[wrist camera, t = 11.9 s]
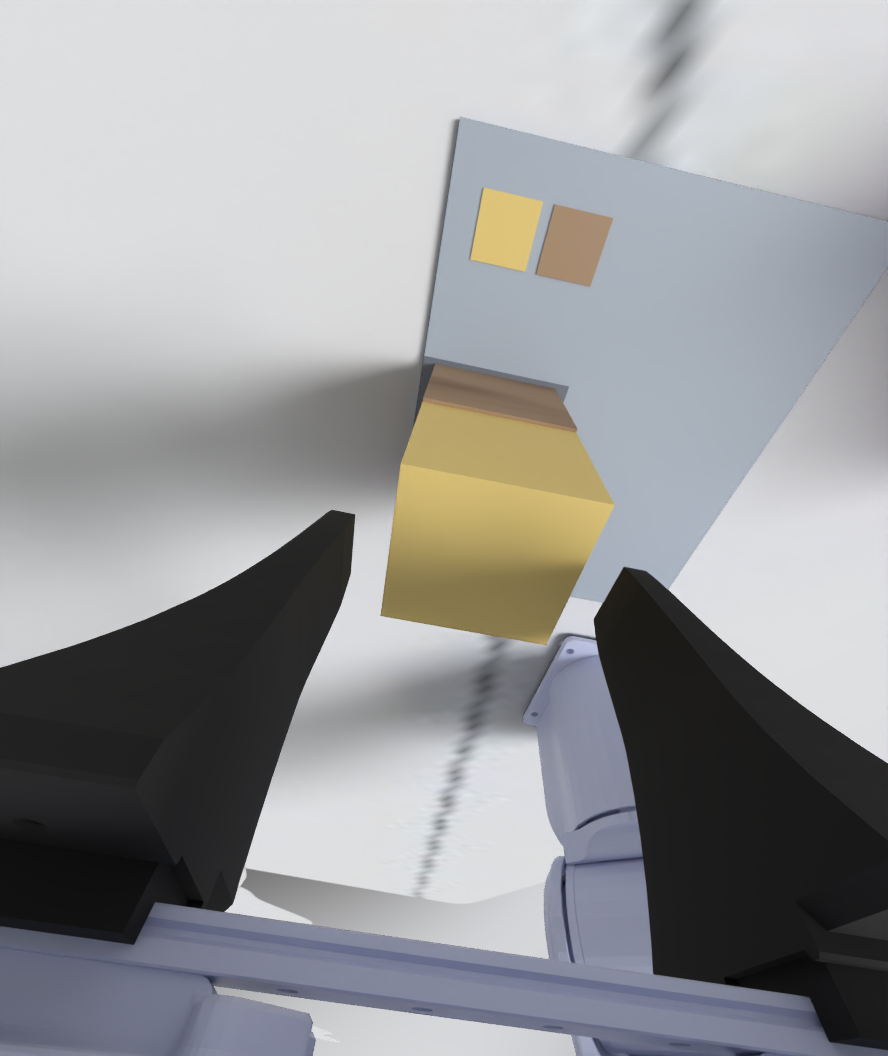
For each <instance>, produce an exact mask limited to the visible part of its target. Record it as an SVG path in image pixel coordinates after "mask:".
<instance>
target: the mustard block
mask: <svg viewBox="0 0 888 1056" xmlns="http://www.w3.org/2000/svg"><path fill="white" fill-rule="evenodd" d="M614 506H615V504H614V503H613V501H612V499H611V497H610V495H609V493H608V491H607V489H606V488H605V486H604V484H603V482H602V480H601V478H600V476H599V474H598V472H597V471H596V469H595V467H594V465H593V463H592V461H591V459H590V457H589V456H588V454H587V452H586V450H585V448H584V446H583V444H582V442H581V440H580V439H579V437H578V435H577V433H576V432H572V431H567V430H562V429H557V428H552V427H547V426H542V425H537V424H532V423H527V422H522V421H517V420H512V419H507V418H502V417H497V416H492V415H487V414H482V413H477V412H472V411H467V410H462V409H457V408H452V407H447V406H442V405H437V404H433V403H428V402H422V405H421V408H420V410H419V413H418V416H417V419H416V422H415V425H414V427H413V430H412V433H411V436H410V439H409V442H408V444H407V447H406V450H405V453H404V456H403V459H402V461H401V466H400V473H399V481H398V488H397V496H396V503H395V511H394V518H393V526H392V534H391V541H390V549H389V556H388V564H387V571H386V579H385V586H384V594H383V602H382V609H381V616H384V617H390V618H395V619H401V620H407V621H412V622H418V623H424V624H429V625H435V626H441V627H446V628H452V629H458V630H464V631H469V632H475V633H481V634H486V635H492V636H498V637H503V638H509V639H515V640H520V641H526V642H532V643H537V644H543V645H546V644H547V642H548V640H549V638H550V636H551V634H552V632H553V630H554V628H555V626H556V624H557V622H558V620H559V617H560V615H561V613H562V611H563V609H564V607H565V605H566V603H567V601H568V599H569V597H570V595H571V593H572V591H573V589H574V587H575V585H576V583H577V581H578V579H579V577H580V575H581V573H582V571H583V569H584V567H585V565H586V563H587V561H588V558H589V556H590V554H591V552H592V550H593V548H594V546H595V544H596V542H597V540H598V538H599V536H600V534H601V532H602V530H603V528H604V526H605V524H606V522H607V520H608V518H609V516H610V514H611V512H612V510H613V508H614Z"/></svg>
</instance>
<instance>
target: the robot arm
mask: <svg viewBox="0 0 888 1056" xmlns="http://www.w3.org/2000/svg"><path fill="white" fill-rule="evenodd" d="M354 523H355V514H350V513H345V512H340V511H335V510H331V511H329V512H328V513H326V514H325V515H324V516H322V517H321V518H320V519H318V520H317V521H316V522H315V523H313V524H312V525H311V526H309V527H308V528H307V529H306V530H304V531H303V532H302V533H300V534H299V535H298V536H296V537H295V538H293V539H292V540H291V541H289V542H288V543H286V544H285V545H284V546H282V547H281V548H279V549H278V550H277V551H275V552H274V553H272V554H271V555H269V556H268V557H266V558H265V559H263V560H261V561H260V562H258V563H257V564H255V565H254V566H252V567H250V568H249V569H247V570H246V571H244V572H242V573H241V574H239V575H237V576H236V577H234V578H232V579H230V580H229V581H227V582H225V583H223V584H221V585H219V586H217V587H215V588H213V589H212V590H210V591H208V592H206V593H204V594H202V595H200V596H198V597H195V598H193V599H191V600H189V601H186V602H184V603H182V604H180V605H177V606H175V607H173V608H171V609H168V610H166V611H164V612H162V613H159V614H157V615H155V616H153V617H150V618H148V619H145V620H143V621H140V622H137V623H135V624H132V625H130V626H127V627H124V628H122V629H119V630H116V631H114V632H111V633H108V634H105V635H102V636H100V637H97V638H94V639H91V640H88V641H85V642H82V643H79V644H76V645H73V646H70V647H67V648H64V649H61V650H57V651H54V652H51V653H48V654H44V655H41V656H38V657H35V658H31V659H28V660H25V661H21V662H18V663H15V664H12V665H8V666H5V667H1V668H0V1056H313V1051H314V1046H315V1041H316V1040H315V1037H314V1034H313V1032H311V1029H312V1024H313V1022H312V1019H311V1017H310V1015H309V1014H308V1013H305V1012H300V1011H295V1010H292V1009H287V1008H283V1007H279V1006H275V1005H271V1004H267V1003H262V1002H258V1001H254V1000H249V999H245V998H240V997H234V996H227V995H218V994H217V992H216V990H215V988H214V987H213V986H218V987H225V988H233V989H240V990H247V991H255V992H262V993H269V994H276V995H284V996H291V997H299V998H306V999H313V1000H320V1001H328V1002H335V1003H343V1004H350V1005H357V1006H365V1007H372V1008H380V1009H388V1010H394V1011H401V1012H409V1013H416V1014H423V1015H430V1016H438V1017H445V1018H452V1019H460V1020H467V1021H474V1022H482V1023H489V1024H496V1025H504V1026H512V1027H519V1028H526V1029H533V1030H541V1031H548V1032H555V1033H563V1034H570V1035H571V1036H572V1040H573V1044H574V1048H575V1052H576V1056H888V763H886V762H885V761H883V760H882V759H880V758H878V757H877V756H875V755H874V754H872V753H871V752H869V751H868V750H866V749H864V748H863V747H861V746H860V745H858V744H857V743H855V742H854V741H852V740H851V739H850V738H848V737H847V736H845V735H844V734H842V733H841V732H839V731H838V730H836V729H835V728H833V727H832V726H830V725H829V724H828V723H826V722H825V721H823V720H822V719H820V718H819V717H817V716H816V715H815V714H813V713H812V712H811V711H809V710H808V709H806V708H805V707H804V706H802V705H801V704H800V703H798V702H797V701H796V700H794V699H793V698H792V697H790V696H789V695H788V694H786V693H785V692H784V691H783V690H781V689H780V688H779V687H777V686H776V685H775V684H773V683H772V682H771V681H770V680H768V679H767V678H766V677H765V676H763V675H762V674H761V673H760V672H758V671H757V670H756V669H755V668H754V667H752V666H751V665H750V664H749V663H748V662H747V661H745V660H744V659H743V658H742V657H741V656H740V655H738V654H737V653H736V652H735V651H734V650H733V649H731V648H730V647H729V646H728V645H727V644H726V643H725V642H724V641H722V640H721V639H720V638H719V637H718V636H717V635H716V634H715V633H714V632H712V631H711V630H710V629H709V628H708V627H707V626H706V625H705V624H704V623H703V622H702V621H701V620H700V619H698V618H697V617H696V616H695V615H694V614H693V613H692V612H691V611H690V610H689V609H688V608H687V607H686V606H685V605H684V604H683V603H682V602H680V601H679V600H678V599H677V598H676V597H675V596H674V595H673V594H672V593H671V592H670V591H669V590H668V589H667V588H665V587H664V586H663V585H662V584H661V583H660V582H659V581H658V580H657V579H655V578H654V577H653V576H652V575H651V574H649V573H648V572H647V571H644V570H639V569H634V568H629V567H623V569H622V571H621V572H620V574H619V576H618V578H617V579H616V581H615V583H614V585H613V586H612V588H611V590H610V592H609V593H608V595H607V597H606V599H605V600H604V602H603V604H602V606H601V607H600V609H599V611H598V613H597V614H596V616H595V618H594V626H595V634H596V640H592V639H586V638H581V637H575V636H570V637H567V638H565V640H564V641H563V643H562V645H561V646H560V648H559V650H558V652H557V654H556V656H555V658H554V660H553V661H552V663H551V665H550V667H549V669H548V671H547V673H546V675H545V676H544V678H543V680H542V682H541V684H540V686H539V688H538V690H537V691H536V693H535V695H534V697H533V699H532V701H531V703H530V705H529V706H528V708H527V710H526V712H525V714H524V716H523V722H524V724H526V725H529V726H535V727H536V728H537V737H538V745H539V753H540V761H541V770H542V778H543V786H544V794H545V802H546V810H547V814H548V818H549V821H550V824H551V826H552V829H553V831H554V833H555V835H556V836H557V838H558V840H559V841H560V843H561V844H562V846H563V847H564V854H565V856H559V857H557V858H555V859H554V861H553V863H552V865H551V869H550V872H549V874H548V876H547V879H546V883H545V890H544V921H545V932H546V941H547V947H548V954H549V959H542V958H536V957H529V956H522V955H516V954H508V953H501V952H495V951H488V950H481V949H474V948H467V947H461V946H454V945H447V944H440V943H433V942H426V941H419V940H412V939H405V938H398V937H392V936H385V935H378V934H371V933H364V932H357V931H350V930H343V929H336V928H329V927H322V926H316V925H309V924H302V923H295V922H288V921H281V920H274V919H267V918H261V917H254V916H247V915H240V914H233V913H226V912H225V911H226V910H227V909H228V908H229V907H230V906H231V905H232V904H233V902H234V899H235V895H236V892H237V888H238V885H239V882H240V878H241V875H242V872H243V869H244V865H245V862H246V859H247V856H248V852H249V849H250V846H251V842H252V839H253V836H254V833H255V829H256V826H257V823H258V820H259V817H260V814H261V811H262V807H263V804H264V801H265V798H266V795H267V792H268V789H269V786H270V782H271V779H272V776H273V773H274V770H275V767H276V764H277V761H278V758H279V755H280V752H281V749H282V746H283V743H284V740H285V737H286V734H287V732H288V729H289V726H290V723H291V720H292V717H293V714H294V711H295V709H296V706H297V703H298V700H299V697H300V695H301V692H302V690H303V687H304V685H305V683H306V680H307V678H308V676H309V674H310V671H311V669H312V667H313V665H314V663H315V661H316V658H317V656H318V654H319V652H320V650H321V648H322V645H323V643H324V641H325V639H326V637H327V635H328V633H329V630H330V628H331V626H332V624H333V622H334V619H335V617H336V615H337V613H338V610H339V608H340V606H341V603H342V600H343V597H344V594H345V590H346V587H347V584H348V581H349V577H350V574H351V562H352V549H353V536H354Z"/></svg>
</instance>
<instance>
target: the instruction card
mask: <svg viewBox="0 0 888 1056" xmlns="http://www.w3.org/2000/svg"><path fill="white" fill-rule="evenodd" d="M887 268H888V221H885V220H881V219H877V218H872V217H868V216H864V215H860V214H856V213H852V212H848V211H844V210H840V209H836V208H831V207H827V206H823V205H819V204H815V203H811V202H807V201H803V200H799V199H795V198H790V197H786V196H782V195H778V194H774V193H770V192H766V191H762V190H758V189H754V188H749V187H745V186H741V185H737V184H733V183H729V182H725V181H721V180H717V179H713V178H709V177H704V176H700V175H696V174H692V173H688V172H684V171H680V170H676V169H672V168H668V167H663V166H659V165H655V164H651V163H647V162H643V161H639V160H635V159H631V158H627V157H622V156H618V155H614V154H610V153H606V152H602V151H598V150H594V149H590V148H586V147H581V146H577V145H573V144H569V143H565V142H561V141H557V140H553V139H549V138H545V137H540V136H536V135H532V134H528V133H524V132H520V131H516V130H512V129H508V128H504V127H499V126H495V125H491V124H487V123H483V122H479V121H475V120H471V119H467V118H463V117H460V122H459V129H458V135H457V142H456V149H455V155H454V162H453V168H452V175H451V182H450V188H449V195H448V202H447V208H446V215H445V221H444V228H443V235H442V241H441V248H440V255H439V261H438V268H437V275H436V281H435V288H434V294H433V301H432V308H431V314H430V321H429V328H428V334H427V341H426V348H425V354H424V360H423V367H422V373H421V380H420V387H419V393H418V400H417V407H416V413H415V420H414V425H415V422H416V419H417V416H418V413H419V410H420V408H421V405H422V402H423V397H424V394H425V391H426V389H427V386H428V383H429V380H430V378H431V375H432V372H433V369H434V366H435V364H440V365H444V366H449V367H454V368H459V369H463V370H468V371H473V372H477V373H482V374H487V375H492V376H496V377H501V378H506V379H511V380H515V381H520V382H525V383H530V384H534V385H539V386H544V387H549V388H553V389H556V391H557V392H558V394H559V396H560V398H561V400H562V402H563V403H564V405H565V407H566V409H567V411H568V413H569V414H570V416H571V418H572V420H573V422H574V423H575V425H576V427H577V432H576V433H577V435H578V437H579V439H580V440H581V442H582V444H583V446H584V448H585V450H586V452H587V454H588V456H589V457H590V459H591V461H592V463H593V465H594V467H595V469H596V471H597V472H598V474H599V476H600V478H601V480H602V482H603V484H604V486H605V488H606V489H607V491H608V493H609V495H610V497H611V499H612V501H613V503H614V504H615V506H614V508H613V510H612V512H611V514H610V516H609V518H608V520H607V522H606V524H605V526H604V528H603V530H602V532H601V534H600V536H599V538H598V540H597V542H596V544H595V546H594V548H593V550H592V552H591V554H590V556H589V558H588V561H587V563H586V565H585V567H584V569H583V571H582V573H581V575H580V577H579V579H578V581H577V583H576V585H575V587H574V589H573V591H572V593H571V595H570V597H576V598H581V599H586V600H592V601H597V602H602V603H603V602H604V600H605V599H606V597H607V595H608V593H609V592H610V590H611V588H612V586H613V585H614V583H615V581H616V579H617V578H618V576H619V574H620V572H621V571H622V569H623V567H629V568H634V569H639V570H644V571H647V572H648V573H649V574H651V575H652V576H653V577H654V578H655V579H657V580H658V581H659V582H660V583H661V584H662V585H663V586H664V587H665V588H667V589H669V588H670V586H671V585H672V583H673V582H674V580H675V579H676V577H677V576H678V574H679V573H680V571H681V570H682V568H683V567H684V566H685V564H686V563H687V561H688V560H689V558H690V557H691V555H692V554H693V552H694V551H695V549H696V548H697V546H698V545H699V544H700V542H701V541H702V539H703V538H704V536H705V535H706V533H707V532H708V530H709V529H710V527H711V526H712V524H713V523H714V522H715V520H716V519H717V517H718V516H719V514H720V513H721V511H722V510H723V508H724V507H725V505H726V504H727V502H728V501H729V499H730V498H731V497H732V495H733V494H734V492H735V491H736V489H737V488H738V486H739V485H740V483H741V482H742V480H743V479H744V477H745V476H746V475H747V473H748V472H749V470H750V469H751V467H752V466H753V464H754V463H755V461H756V460H757V458H758V457H759V455H760V454H761V453H762V451H763V450H764V448H765V447H766V445H767V444H768V442H769V441H770V439H771V438H772V436H773V435H774V433H775V432H776V430H777V429H778V428H779V426H780V425H781V423H782V422H783V420H784V419H785V417H786V416H787V414H788V413H789V411H790V410H791V408H792V407H793V406H794V404H795V403H796V401H797V400H798V398H799V397H800V395H801V394H802V392H803V391H804V389H805V388H806V386H807V385H808V384H809V382H810V381H811V379H812V378H813V376H814V375H815V373H816V372H817V370H818V369H819V367H820V366H821V364H822V363H823V361H824V360H825V359H826V357H827V356H828V354H829V353H830V351H831V350H832V348H833V347H834V345H835V344H836V342H837V341H838V339H839V338H840V337H841V335H842V334H843V332H844V331H845V329H846V328H847V326H848V325H849V323H850V322H851V320H852V319H853V317H854V316H855V315H856V313H857V312H858V310H859V309H860V307H861V306H862V304H863V303H864V301H865V300H866V298H867V297H868V295H869V294H870V292H871V291H872V290H873V288H874V287H875V285H876V284H877V282H878V281H879V279H880V278H881V276H882V275H883V273H884V272H885V270H886V269H887ZM413 427H414V426H413Z"/></svg>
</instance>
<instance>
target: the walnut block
mask: <svg viewBox="0 0 888 1056" xmlns="http://www.w3.org/2000/svg"><path fill="white" fill-rule="evenodd" d="M423 402H428V403H433V404H437V405H442V406H447V407H452V408H457V409H462V410H467V411H472V412H477V413H482V414H487V415H492V416H497V417H502V418H507V419H512V420H517V421H522V422H527V423H532V424H537V425H542V426H547V427H552V428H557V429H562V430H567V431H572V432H577V427H576V425H575V423H574V422H573V420H572V418H571V416H570V414H569V413H568V411H567V409H566V407H565V405H564V403H563V402H562V400H561V398H560V396H559V394H558V392H557V391H556V389H553V388H549V387H544V386H539V385H534V384H530V383H525V382H520V381H515V380H511V379H506V378H501V377H496V376H492V375H487V374H482V373H477V372H473V371H468V370H463V369H459V368H454V367H449V366H444V365H440V364H435V366H434V369H433V372H432V375H431V378H430V380H429V383H428V386H427V389H426V391H425V394H424V397H423Z"/></svg>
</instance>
